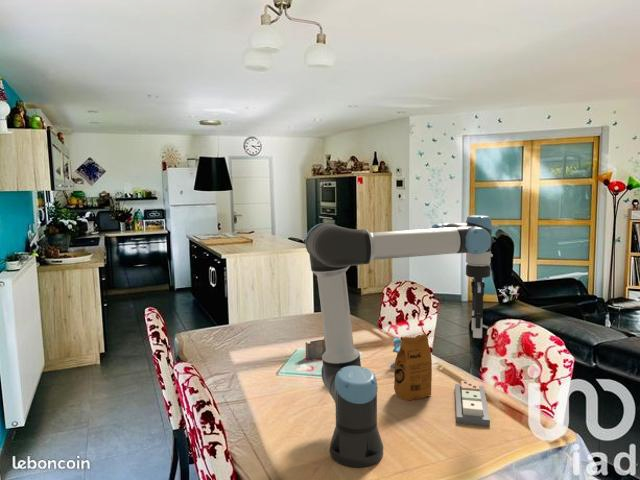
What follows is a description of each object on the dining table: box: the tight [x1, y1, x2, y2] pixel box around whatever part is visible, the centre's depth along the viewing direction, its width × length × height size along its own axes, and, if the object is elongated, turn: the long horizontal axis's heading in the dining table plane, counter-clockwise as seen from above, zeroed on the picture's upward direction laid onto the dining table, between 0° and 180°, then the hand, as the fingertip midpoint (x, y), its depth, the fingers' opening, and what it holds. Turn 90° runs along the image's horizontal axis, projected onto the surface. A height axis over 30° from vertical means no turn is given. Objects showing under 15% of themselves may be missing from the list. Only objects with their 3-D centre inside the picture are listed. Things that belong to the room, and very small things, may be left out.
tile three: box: [460, 380, 480, 394], centre depth 172 cm, size 6×6×3 cm
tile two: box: [461, 390, 481, 404], centre depth 164 cm, size 6×6×3 cm
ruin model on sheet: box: [305, 336, 326, 361], centre depth 213 cm, size 11×3×10 cm, turn 115°
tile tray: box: [454, 383, 491, 427], centre depth 164 cm, size 26×10×2 cm, turn 166°
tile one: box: [461, 400, 483, 417], centre depth 156 cm, size 6×6×3 cm
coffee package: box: [393, 332, 433, 402], centre depth 173 cm, size 10×12×22 cm
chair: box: [390, 337, 402, 369], centre depth 202 cm, size 8×8×12 cm
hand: (476, 333), depth 156 cm, fingers open, 7 cm apart
